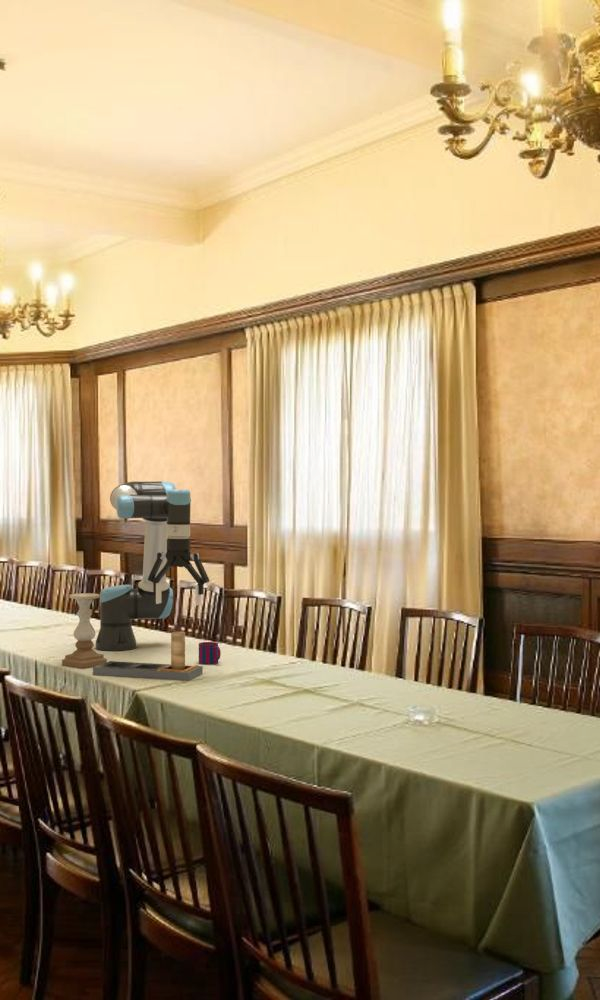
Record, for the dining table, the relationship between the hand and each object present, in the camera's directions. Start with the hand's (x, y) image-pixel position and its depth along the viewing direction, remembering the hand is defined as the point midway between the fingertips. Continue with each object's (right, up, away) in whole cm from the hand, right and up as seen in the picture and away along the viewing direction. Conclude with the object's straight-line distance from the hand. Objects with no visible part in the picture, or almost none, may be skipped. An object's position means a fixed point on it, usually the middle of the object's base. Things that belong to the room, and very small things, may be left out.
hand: (178, 604), depth 323 cm
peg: (0, -23, 0) cm, 23 cm away
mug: (+8, -23, +24) cm, 34 cm away
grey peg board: (-10, -23, +3) cm, 25 cm away
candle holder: (-34, -23, +20) cm, 46 cm away
